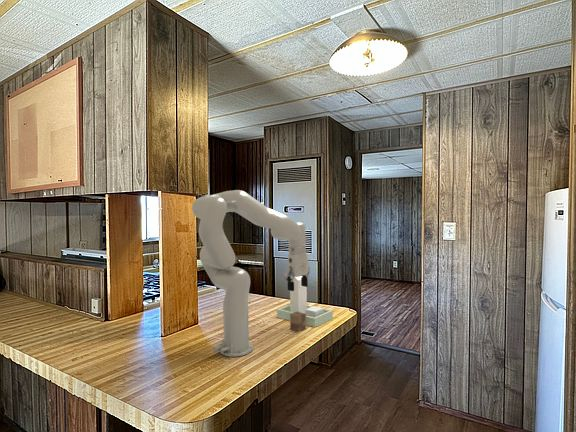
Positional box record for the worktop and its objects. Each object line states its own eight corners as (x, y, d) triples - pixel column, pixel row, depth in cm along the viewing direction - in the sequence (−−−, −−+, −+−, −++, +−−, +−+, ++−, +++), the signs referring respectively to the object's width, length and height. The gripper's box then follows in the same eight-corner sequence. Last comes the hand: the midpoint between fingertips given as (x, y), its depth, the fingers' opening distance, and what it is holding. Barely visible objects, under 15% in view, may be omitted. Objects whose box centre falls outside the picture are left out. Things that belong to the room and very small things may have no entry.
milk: (307, 315, 168) (306, 272, 167) (298, 318, 163) (298, 273, 163) (298, 313, 172) (298, 270, 172) (290, 315, 168) (289, 272, 167)
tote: (314, 327, 151) (314, 318, 151) (277, 317, 166) (276, 309, 166) (332, 318, 162) (332, 310, 162) (295, 310, 177) (295, 302, 177)
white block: (315, 324, 155) (315, 311, 155) (305, 321, 159) (305, 309, 159) (324, 320, 160) (324, 308, 160) (313, 318, 164) (313, 306, 164)
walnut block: (299, 332, 145) (299, 316, 145) (290, 329, 148) (290, 314, 148) (306, 329, 149) (305, 313, 149) (297, 326, 152) (297, 311, 152)
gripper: (291, 253, 139) (292, 293, 140) (315, 248, 152) (315, 285, 153) (278, 251, 144) (278, 291, 144) (302, 247, 157) (302, 283, 158)
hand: (297, 288), depth 149 cm, fingers open, 9 cm apart
